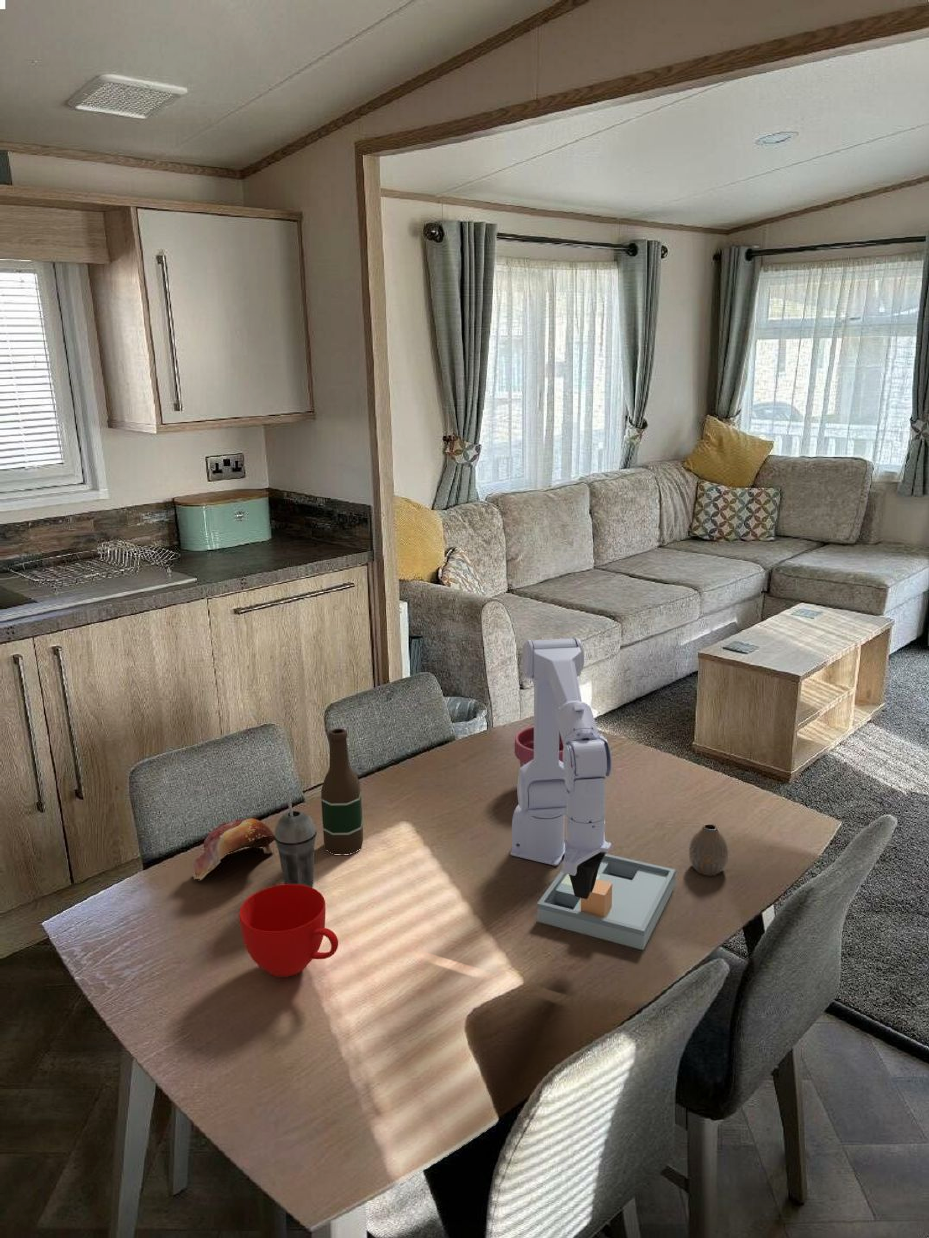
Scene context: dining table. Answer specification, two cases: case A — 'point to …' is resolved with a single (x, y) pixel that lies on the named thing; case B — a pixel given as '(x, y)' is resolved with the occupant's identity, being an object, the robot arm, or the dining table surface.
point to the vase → (708, 851)
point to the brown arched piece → (232, 842)
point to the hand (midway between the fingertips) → (583, 893)
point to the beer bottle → (341, 800)
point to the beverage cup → (296, 846)
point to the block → (598, 899)
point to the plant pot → (530, 746)
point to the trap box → (613, 902)
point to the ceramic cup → (285, 928)
